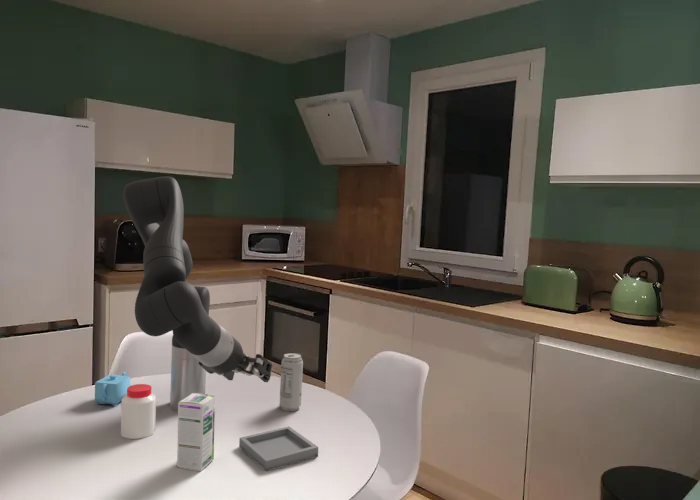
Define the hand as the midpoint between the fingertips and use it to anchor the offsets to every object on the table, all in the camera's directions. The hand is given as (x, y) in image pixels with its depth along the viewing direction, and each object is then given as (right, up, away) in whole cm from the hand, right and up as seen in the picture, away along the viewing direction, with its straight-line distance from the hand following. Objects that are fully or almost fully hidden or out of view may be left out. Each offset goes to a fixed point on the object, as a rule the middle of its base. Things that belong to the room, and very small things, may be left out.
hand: (249, 376), depth 113 cm
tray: (+5, -19, +7) cm, 21 cm away
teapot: (-44, -15, +32) cm, 56 cm away
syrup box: (-12, -19, -1) cm, 22 cm away
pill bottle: (-30, -17, +13) cm, 37 cm away
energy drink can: (+5, -17, +34) cm, 38 cm away
